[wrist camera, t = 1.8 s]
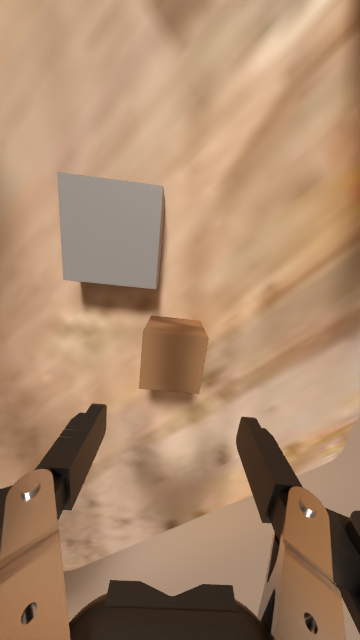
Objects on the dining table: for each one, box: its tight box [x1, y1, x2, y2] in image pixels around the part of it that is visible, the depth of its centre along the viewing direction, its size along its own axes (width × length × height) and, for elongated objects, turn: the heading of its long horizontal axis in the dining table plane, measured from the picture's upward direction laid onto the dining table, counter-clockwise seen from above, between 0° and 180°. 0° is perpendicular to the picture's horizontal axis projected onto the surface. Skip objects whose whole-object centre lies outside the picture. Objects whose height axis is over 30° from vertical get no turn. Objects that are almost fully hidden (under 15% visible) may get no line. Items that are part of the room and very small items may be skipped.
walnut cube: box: [139, 316, 208, 394], centre depth 20 cm, size 6×6×6 cm
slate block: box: [57, 172, 165, 289], centre depth 19 cm, size 9×9×4 cm
